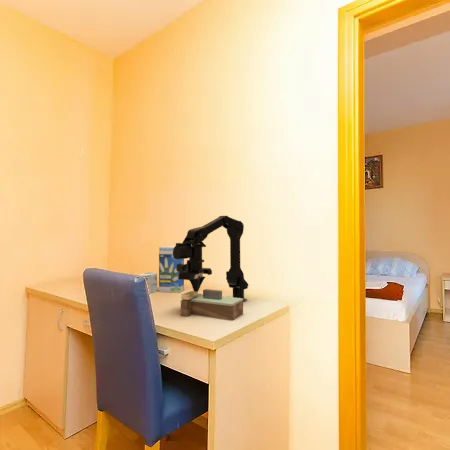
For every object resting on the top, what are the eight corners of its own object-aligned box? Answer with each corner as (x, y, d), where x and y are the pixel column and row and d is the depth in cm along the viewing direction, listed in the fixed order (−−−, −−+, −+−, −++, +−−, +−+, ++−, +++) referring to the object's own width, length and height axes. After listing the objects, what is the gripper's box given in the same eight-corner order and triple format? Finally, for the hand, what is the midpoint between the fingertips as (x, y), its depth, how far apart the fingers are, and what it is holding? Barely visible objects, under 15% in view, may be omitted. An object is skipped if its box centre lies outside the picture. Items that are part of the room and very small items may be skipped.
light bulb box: (149, 290, 185) (149, 272, 185) (157, 291, 181) (157, 272, 181) (135, 293, 175) (135, 274, 176) (144, 295, 172) (144, 275, 172)
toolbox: (195, 307, 144) (195, 293, 144) (243, 313, 133) (242, 298, 133) (176, 315, 132) (176, 300, 132) (228, 322, 121) (227, 306, 121)
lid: (195, 295, 145) (195, 286, 145) (243, 300, 133) (243, 290, 133) (182, 300, 135) (182, 290, 135) (232, 306, 124) (232, 295, 124)
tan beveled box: (192, 295, 138) (192, 290, 138) (197, 296, 137) (197, 291, 137) (181, 299, 131) (181, 294, 131) (187, 300, 130) (187, 295, 130)
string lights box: (158, 292, 180) (158, 246, 180) (163, 289, 187) (162, 246, 187) (181, 292, 178) (180, 246, 178) (184, 289, 185) (184, 246, 186)
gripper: (192, 255, 151) (192, 288, 151) (167, 258, 134) (167, 295, 134) (212, 256, 146) (212, 290, 145) (189, 259, 129) (189, 298, 129)
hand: (195, 293), depth 139 cm, fingers closed
